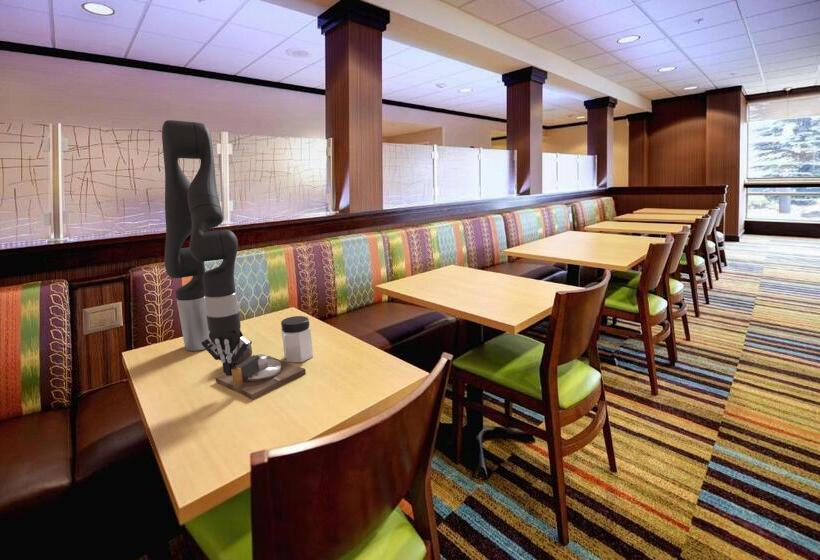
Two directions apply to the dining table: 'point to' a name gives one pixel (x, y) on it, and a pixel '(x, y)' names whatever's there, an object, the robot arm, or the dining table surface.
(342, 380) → the dining table surface
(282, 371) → the base
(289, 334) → the jar
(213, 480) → the dining table surface
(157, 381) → the dining table surface
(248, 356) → the vase
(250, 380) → the knob
